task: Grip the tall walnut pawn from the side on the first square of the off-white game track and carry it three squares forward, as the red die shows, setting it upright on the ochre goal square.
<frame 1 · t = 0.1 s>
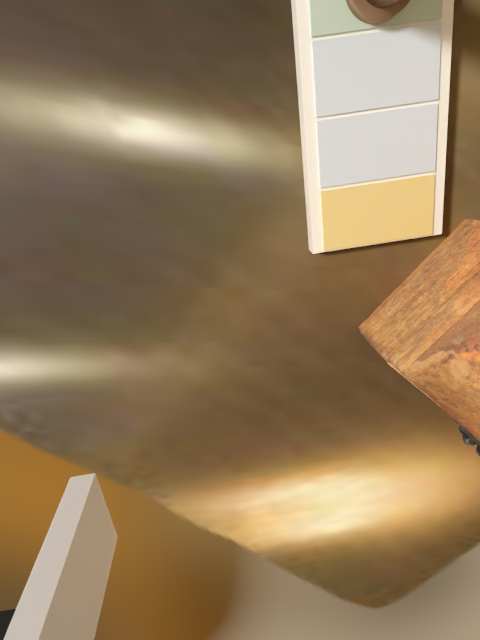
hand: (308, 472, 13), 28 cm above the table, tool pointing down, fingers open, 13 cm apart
board: (369, 112, 35), on the table
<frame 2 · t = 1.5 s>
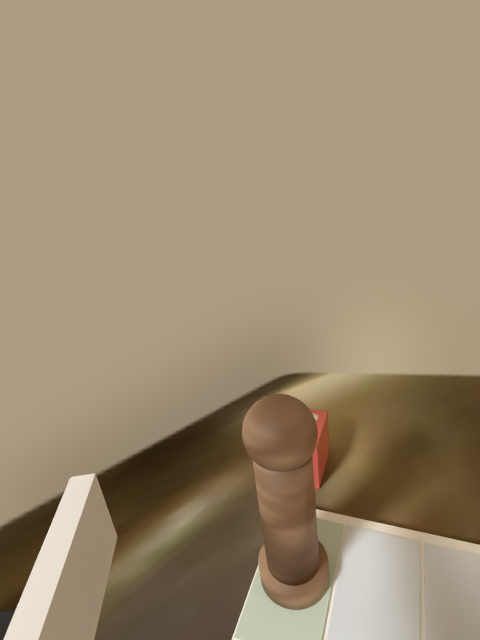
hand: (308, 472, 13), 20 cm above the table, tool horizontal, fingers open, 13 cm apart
pawn: (294, 574, 29), point 2 cm above the table, touching board
die: (299, 465, 41), on the table
board: (421, 627, 27), on the table
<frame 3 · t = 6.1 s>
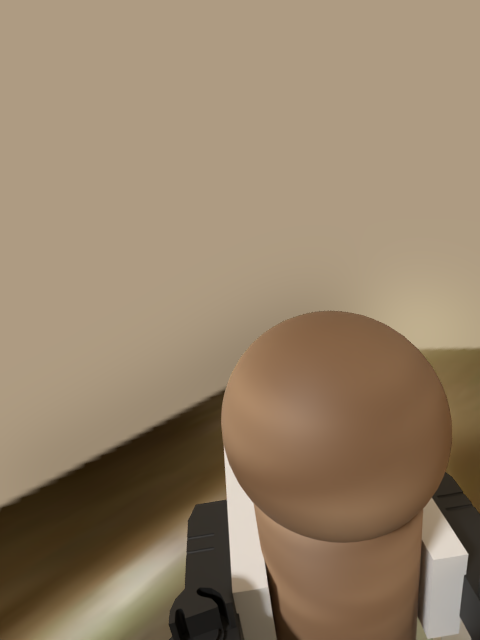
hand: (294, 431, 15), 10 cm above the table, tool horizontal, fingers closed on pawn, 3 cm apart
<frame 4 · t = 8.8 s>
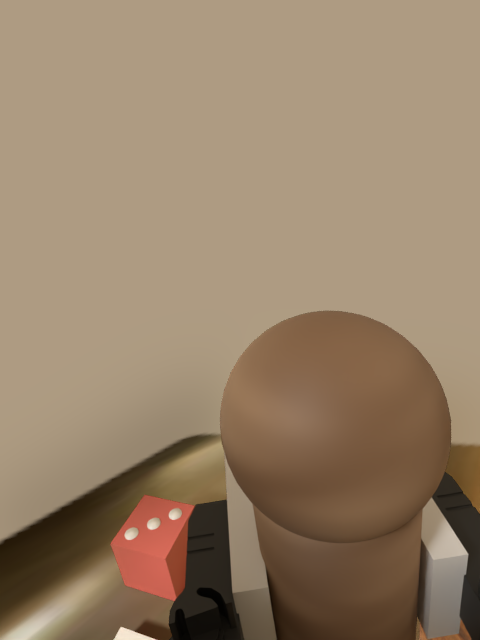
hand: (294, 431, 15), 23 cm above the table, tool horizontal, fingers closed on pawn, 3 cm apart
die: (165, 565, 36), on the table
when the fingers open (11 cm above the table, at t = 11.4 s): pawn drops 1 cm, resting on board.
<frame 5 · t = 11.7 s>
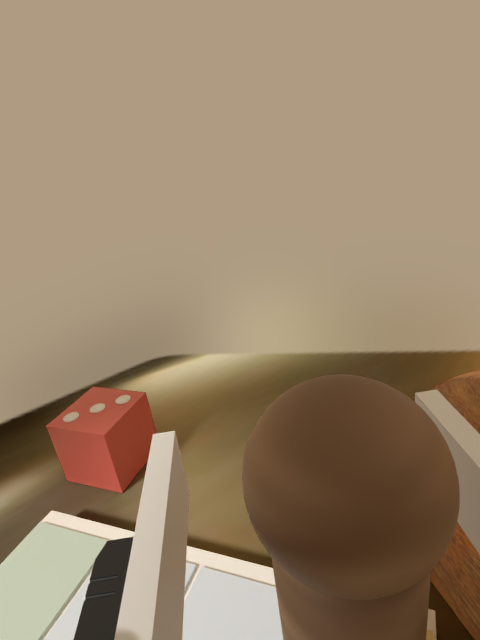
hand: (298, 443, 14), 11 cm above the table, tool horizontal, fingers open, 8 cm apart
die: (115, 462, 32), on the table
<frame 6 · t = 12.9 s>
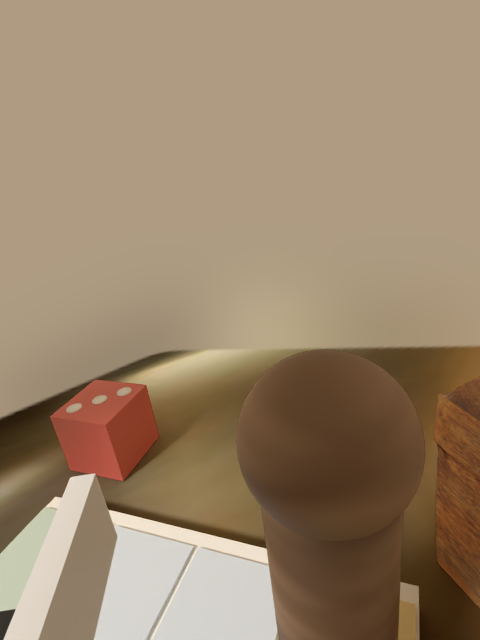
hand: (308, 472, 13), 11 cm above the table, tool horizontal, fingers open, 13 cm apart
die: (116, 452, 33), on the table
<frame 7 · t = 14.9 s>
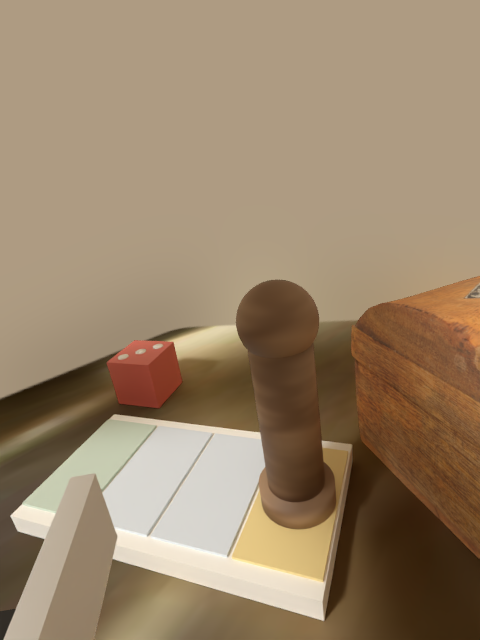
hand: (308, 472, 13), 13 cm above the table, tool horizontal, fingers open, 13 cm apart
pawn: (298, 497, 27), point 2 cm above the table, touching board
die: (151, 392, 45), on the table
board: (190, 494, 31), on the table
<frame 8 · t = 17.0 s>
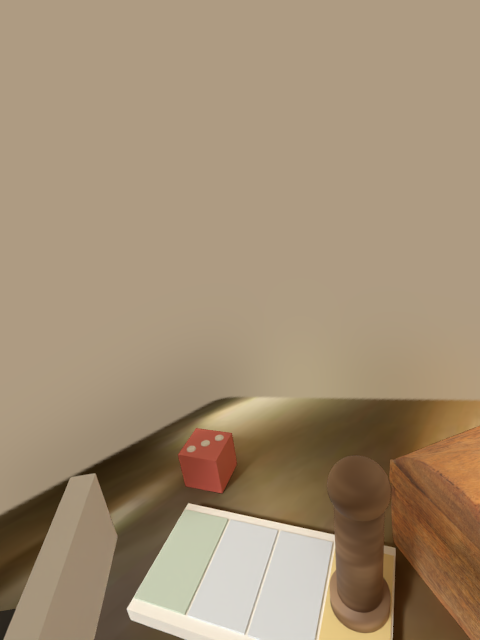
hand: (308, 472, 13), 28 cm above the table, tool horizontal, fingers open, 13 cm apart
pawn: (359, 601, 34), point 2 cm above the table, touching board
die: (211, 474, 52), on the table
board: (266, 588, 38), on the table
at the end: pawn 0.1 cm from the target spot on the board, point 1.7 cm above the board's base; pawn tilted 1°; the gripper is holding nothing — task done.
